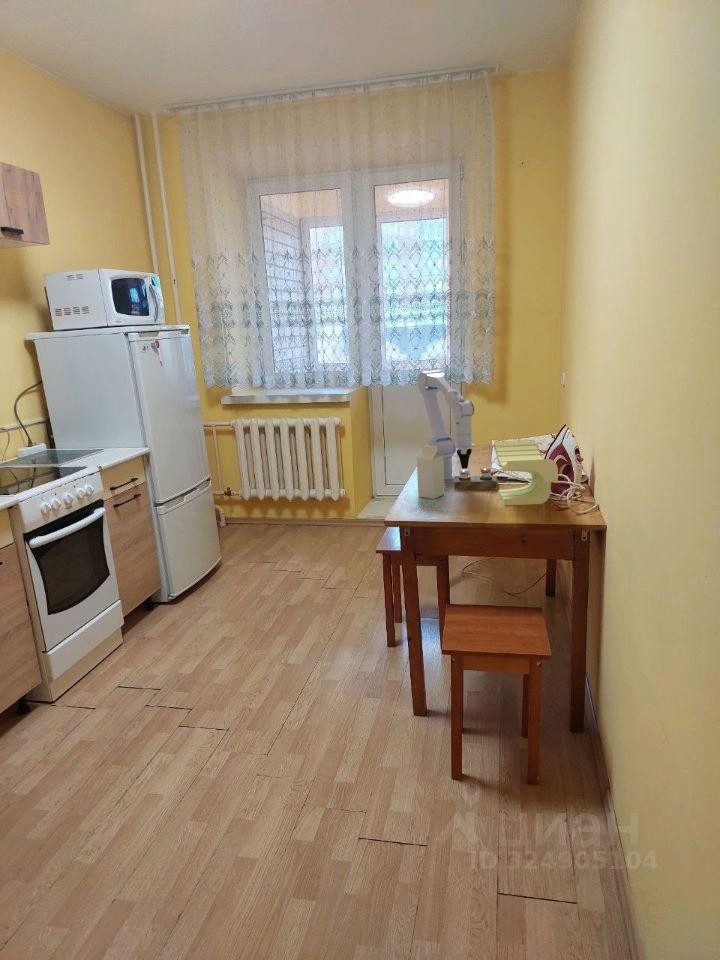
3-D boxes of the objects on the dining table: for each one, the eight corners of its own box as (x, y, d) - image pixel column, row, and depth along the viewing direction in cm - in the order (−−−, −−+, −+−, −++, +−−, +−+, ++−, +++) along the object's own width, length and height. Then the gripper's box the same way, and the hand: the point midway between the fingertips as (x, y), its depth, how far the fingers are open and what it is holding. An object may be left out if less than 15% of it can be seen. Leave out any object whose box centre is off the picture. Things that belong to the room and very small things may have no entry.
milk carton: (433, 499, 215) (432, 448, 210) (418, 496, 220) (416, 446, 215) (444, 494, 220) (443, 444, 215) (429, 491, 225) (427, 443, 220)
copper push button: (480, 481, 225) (480, 470, 224) (480, 478, 229) (480, 467, 228) (491, 481, 224) (491, 470, 223) (491, 478, 228) (491, 467, 227)
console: (454, 489, 226) (453, 481, 225) (454, 483, 233) (454, 476, 233) (496, 488, 223) (496, 481, 222) (496, 483, 230) (496, 475, 229)
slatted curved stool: (556, 511, 194) (558, 458, 190) (507, 513, 196) (507, 461, 191) (537, 485, 223) (538, 439, 218) (495, 487, 225) (494, 441, 220)
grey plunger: (459, 482, 227) (459, 472, 226) (459, 480, 231) (459, 469, 229) (469, 482, 226) (469, 471, 225) (470, 479, 230) (469, 469, 229)
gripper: (474, 436, 216) (475, 472, 219) (474, 429, 229) (475, 463, 233) (454, 437, 217) (455, 473, 221) (456, 430, 231) (457, 463, 234)
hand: (464, 468), depth 227 cm, fingers closed
